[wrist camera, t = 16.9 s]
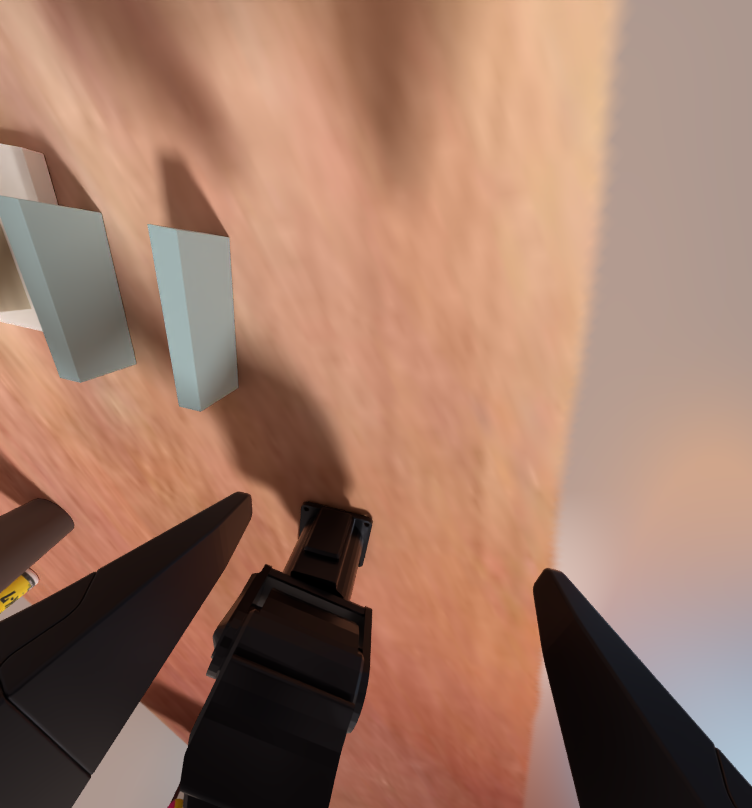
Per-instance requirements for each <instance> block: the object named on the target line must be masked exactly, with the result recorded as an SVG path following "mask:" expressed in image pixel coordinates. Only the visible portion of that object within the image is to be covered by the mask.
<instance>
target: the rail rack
mask: <svg viewBox="0 0 752 808" xmlns="http://www.w3.org/2000/svg"><path fill="white" fill-rule="evenodd" d="M0 218H1V221H2V223H3V226H4V229H5V231H6V234H7V237H8V239H9V242H10V245H11V247H12V250H13V253H14V255H15V258H16V261H17V263H18V266H19V269H20V271H21V274H22V277H23V279H24V282H25V285H26V288H27V290H28V293H29V296H30V298H31V301H32V304H33V306H34V309H35V312H36V314H37V317H38V320H39V322H40V325H41V328H42V330H43V333H44V336H45V338H46V341H47V344H48V346H49V349H50V352H51V354H52V357H53V360H54V362H55V365H56V368H57V371H58V373H59V376H60V378H63V379H67V380H72V381H76V382H80V383H81V382H84V381H87V380H90V379H93V378H96V377H99V376H102V375H105V374H108V373H111V372H114V371H117V370H120V369H123V368H126V367H129V366H132V365H135V364H136V360H135V356H134V351H133V347H132V343H131V338H130V334H129V330H128V326H127V321H126V317H125V313H124V309H123V304H122V300H121V296H120V291H119V287H118V283H117V279H116V274H115V270H114V266H113V261H112V257H111V253H110V249H109V244H108V240H107V236H106V232H105V227H104V223H103V219H102V214H101V213H99V212H94V211H89V210H84V209H78V208H72V207H66V206H60V205H54V204H49V203H43V202H37V201H31V200H25V199H19V198H13V197H7V196H1V195H0ZM148 230H149V236H150V241H151V247H152V253H153V259H154V264H155V270H156V276H157V282H158V287H159V293H160V299H161V305H162V311H163V316H164V322H165V328H166V334H167V339H168V345H169V351H170V357H171V362H172V368H173V374H174V380H175V386H176V391H177V397H178V403H179V406H180V407H184V408H188V409H192V410H196V411H200V412H201V411H203V410H204V409H206V408H207V407H209V406H211V405H212V404H214V403H215V402H217V401H218V400H220V399H222V398H223V397H225V396H226V395H228V394H229V393H231V392H233V391H234V390H236V389H237V388H238V373H237V356H236V340H235V324H234V307H233V291H232V275H231V259H230V242H229V237H224V236H219V235H214V234H208V233H203V232H196V231H190V230H183V229H177V228H170V227H164V226H157V225H151V224H148Z"/></svg>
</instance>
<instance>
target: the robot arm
mask: <svg viewBox="0 0 752 808" xmlns="http://www.w3.org/2000/svg"><path fill="white" fill-rule="evenodd" d="M307 507H308V508H307ZM251 517H252V499H251V495H250V494H248V493H244V492H235V493H233V494H232V495H230V496H228V497H226V498H225V499H223V500H221V501H219V502H217V503H216V504H214V505H212V506H210V507H209V508H207V509H205V510H203V511H201V512H200V513H198V514H196V515H194V516H192V517H191V518H189V519H187V520H185V521H184V522H182V523H180V524H178V525H176V526H175V527H173V528H171V529H169V530H168V531H166V532H164V533H162V534H160V535H159V536H157V537H155V538H153V539H152V540H150V541H148V542H146V543H144V544H143V545H141V546H139V547H137V548H135V549H134V550H132V551H130V552H128V553H127V554H125V555H123V556H121V557H119V558H118V559H116V560H114V561H112V562H111V563H109V564H107V565H105V566H103V567H102V568H100V569H98V570H97V572H93V573H91V574H89V575H87V576H85V577H84V578H82V579H80V580H78V581H76V582H75V583H73V584H71V585H69V586H67V587H66V588H64V589H62V590H60V591H58V592H56V593H54V594H53V595H51V596H49V597H47V598H45V599H43V600H41V601H40V602H38V603H36V604H34V605H32V606H30V607H28V608H26V609H24V610H22V611H20V612H18V613H16V614H14V615H12V616H10V617H8V618H6V619H4V620H2V621H0V808H72V806H73V805H74V803H75V801H76V800H77V798H78V797H79V795H80V794H81V792H82V790H83V789H84V787H85V786H86V784H87V783H88V781H89V780H90V778H91V775H92V774H93V773H94V772H95V770H96V768H97V767H98V765H99V764H100V762H101V761H102V759H103V758H104V756H105V754H106V753H107V751H108V750H109V748H110V747H111V745H112V743H113V742H114V740H115V739H116V737H117V736H118V734H119V733H120V731H121V729H122V728H123V726H124V725H125V723H126V722H127V720H128V719H129V717H130V715H131V714H132V712H133V711H134V709H135V708H136V706H137V705H138V703H139V702H140V700H141V699H142V697H143V695H144V694H145V692H146V691H147V689H148V688H149V686H150V685H151V683H152V681H153V680H154V678H155V677H156V675H157V674H158V672H159V671H160V669H161V668H162V666H163V664H164V663H165V661H166V660H167V658H168V657H169V655H170V654H171V652H172V650H173V649H174V647H175V646H176V644H177V643H178V641H179V640H180V638H181V636H182V635H183V633H184V632H185V630H186V629H187V627H188V626H189V624H190V622H191V621H192V619H193V618H194V616H195V615H196V613H197V612H198V610H199V609H200V607H201V605H202V604H203V602H204V601H205V599H206V598H207V596H208V595H209V593H210V591H211V590H212V588H213V587H214V585H215V584H216V582H217V581H218V579H219V577H220V576H221V574H222V573H223V571H224V569H225V568H226V566H227V564H228V562H229V560H230V558H231V556H232V555H233V553H234V551H235V549H236V547H237V545H238V543H239V541H240V539H241V537H242V535H243V533H244V531H245V529H246V527H247V525H248V524H249V522H250V520H251ZM372 523H373V521H372V519H371V518H369V517H366V516H362V515H358V514H354V513H350V512H346V511H342V510H338V509H334V508H331V507H327V506H323V505H319V504H315V503H311V502H304V503H303V505H302V507H301V519H300V534H299V539H298V541H297V543H296V545H295V547H294V550H293V552H292V554H291V556H290V558H289V560H288V562H287V564H286V566H285V569H284V571H283V573H282V572H280V571H278V570H275V569H273V568H272V566H270V565H267V564H265V566H264V568H263V569H262V571H261V572H260V573H254V574H252V575H251V577H250V578H249V580H248V582H247V584H246V585H245V587H244V589H243V591H242V592H241V594H240V596H239V597H238V599H237V600H236V601H235V603H234V604H233V606H232V607H231V608H230V610H229V611H228V613H227V614H226V615H225V617H224V618H223V620H222V621H221V622H220V624H219V625H218V627H217V629H216V630H215V632H214V634H213V643H214V651H213V654H212V656H211V658H212V661H211V663H210V666H209V668H208V670H207V673H206V676H209V677H211V678H214V679H216V681H215V683H214V685H213V687H212V689H211V692H210V694H209V696H208V698H207V700H206V702H205V704H204V706H203V708H202V710H201V712H200V714H199V716H198V718H197V720H196V722H195V724H194V727H193V729H192V731H191V734H190V737H189V742H188V748H187V750H186V752H185V756H184V762H183V768H182V774H181V781H180V792H182V793H184V800H183V808H328V807H329V803H330V799H331V794H332V789H333V785H334V780H335V776H336V771H337V767H338V763H339V759H340V755H341V751H342V747H343V744H344V741H345V737H346V734H347V733H351V732H352V730H353V729H354V727H355V725H356V723H357V721H358V718H359V716H360V713H361V710H362V707H363V703H364V699H365V695H366V691H367V686H368V680H369V672H370V653H371V628H372V609H371V608H368V607H366V606H365V607H362V606H360V605H358V604H355V603H353V602H351V601H350V599H351V594H352V590H353V586H354V582H355V577H356V573H357V569H358V567H361V566H362V565H363V562H364V558H365V553H366V549H367V545H368V541H369V536H370V532H371V528H372ZM533 595H534V601H535V608H536V615H537V621H538V628H539V635H540V641H541V647H542V653H543V658H544V662H545V667H546V671H547V674H548V679H549V683H550V687H551V691H552V695H553V699H554V703H555V707H556V712H557V716H558V720H559V724H560V727H561V732H562V736H563V740H564V744H565V748H566V752H567V756H568V760H569V765H570V769H571V773H572V777H573V781H574V785H575V789H576V793H577V797H578V801H579V806H580V808H752V786H751V785H750V784H749V783H748V781H747V780H746V779H745V778H744V777H743V776H742V775H741V774H740V772H739V771H738V770H737V769H736V768H735V767H734V766H733V765H732V763H731V762H730V761H729V760H728V759H727V758H726V757H725V755H724V754H723V753H722V752H721V751H720V750H719V749H718V748H715V746H714V744H713V742H712V741H711V740H710V739H709V738H708V736H707V735H706V734H705V733H704V732H703V731H702V730H701V728H700V727H699V726H698V725H697V724H696V723H695V722H694V720H693V719H692V718H691V717H690V716H689V715H688V714H687V713H686V711H685V710H684V709H683V708H682V707H681V706H680V705H679V704H678V702H677V701H676V700H675V699H674V698H673V697H672V696H671V694H669V692H668V691H667V690H666V689H665V688H664V686H663V685H662V684H661V683H660V682H659V681H658V680H657V679H656V677H655V676H654V675H653V674H652V673H651V672H650V671H649V670H648V668H647V667H646V666H645V665H644V664H643V663H642V662H641V660H640V659H639V658H638V657H637V656H636V655H635V654H634V653H633V651H632V650H631V649H630V648H629V647H628V646H627V645H626V643H625V642H624V641H623V640H622V639H621V638H620V637H619V635H618V634H617V633H616V632H615V631H614V630H613V629H612V628H611V626H610V625H608V623H607V622H606V621H605V620H604V618H603V617H602V616H601V615H600V614H599V613H598V612H597V610H596V609H595V608H594V607H593V606H592V605H591V604H590V603H589V601H588V600H587V599H586V598H585V597H584V596H583V595H582V593H581V592H580V591H579V590H578V589H577V588H576V587H575V586H574V584H573V583H572V582H571V581H570V580H569V579H568V578H567V576H566V575H565V574H564V573H562V572H561V571H558V570H554V569H550V568H546V569H544V570H543V572H542V573H541V574H540V576H539V577H538V579H537V580H536V582H535V583H534V586H533Z"/></svg>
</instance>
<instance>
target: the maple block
mask: <svg viewBox="0 0 752 808" xmlns="http://www.w3.org/2000/svg"><path fill="white" fill-rule="evenodd" d="M25 309H31V306H30V303H29V300H28V298H27V295H26V292H25V289H24V287H23V284H22V281H21V279H20V276H19V273H18V270H17V268H16V265H15V262H14V259H13V257H12V254H11V251H10V249H9V246H8V243H7V240H6V238H5V235H4V232H3V229H2V227H1V224H0V312H6V311H15V310H25Z"/></svg>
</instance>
